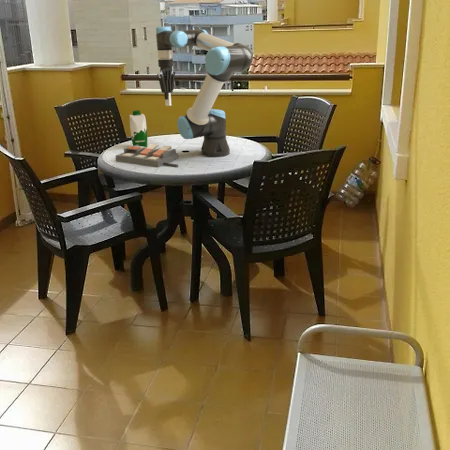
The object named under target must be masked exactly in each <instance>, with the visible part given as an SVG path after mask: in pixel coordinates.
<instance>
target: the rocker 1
mask: <svg viewBox="0 0 450 450" xmlns="http://www.w3.org/2000/svg"><path fill="white" fill-rule="evenodd" d="M127 148H128V149H134V150H139V149H142V148H144V147H143V146H133V145H132V146H131V145H130V146H129V145H128V146H127Z"/></svg>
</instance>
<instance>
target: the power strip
mask: <svg viewBox="0 0 450 450" xmlns="http://www.w3.org/2000/svg"><path fill="white" fill-rule="evenodd" d="M134 146H139V145H134ZM148 146H149V145H147V147H148ZM145 148H146V147H144V148H142V149H139V150H134V149H128V147H125V148H124V149H123V152H122V153H121V152H120V153H118V154H116V155H115V161H116V162H119V163H120V162H121V163H125V164H126V163H127V164H135V165H139V166H147V167H153V168H160V167H162V166H167V167H175V168H178V167H179V165H178V164H176V163H173V162H174V161H178V160H179V153H178V152H177V151H176V150H177V149H176V148H171V149H170V150H169V151H167V152H164V153H162V154H161V157H157V156H153V153H154V152H156V151H157V150H158V149H160V148H161V147H157V148H156V149H155V150H153V151H150V152H148V153H149V155H148V156H146V155H141V154H140V152H142V151H143V150H144V149H145Z"/></svg>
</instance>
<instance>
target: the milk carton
mask: <svg viewBox="0 0 450 450" xmlns="http://www.w3.org/2000/svg"><path fill="white" fill-rule="evenodd" d="M129 129H130V138H131V143H132V146H134V145H139V146H143V147H147V146H148V131H147V130H148V129H147V120H146V115H145V114H144V113H141V111H140V110H132V114H129Z"/></svg>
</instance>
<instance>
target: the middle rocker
mask: <svg viewBox="0 0 450 450" xmlns="http://www.w3.org/2000/svg"><path fill="white" fill-rule="evenodd" d="M147 146H148V147H146V148H145V149H144V150H143V151H142V152H140V154H141V155H146V156H148V155H149V153H148V152H150V151H153V150H155V149H158V148H159V144H158V143H150V144H149V145H147Z"/></svg>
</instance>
